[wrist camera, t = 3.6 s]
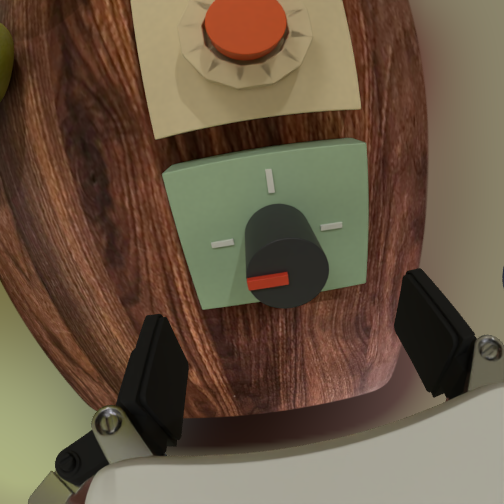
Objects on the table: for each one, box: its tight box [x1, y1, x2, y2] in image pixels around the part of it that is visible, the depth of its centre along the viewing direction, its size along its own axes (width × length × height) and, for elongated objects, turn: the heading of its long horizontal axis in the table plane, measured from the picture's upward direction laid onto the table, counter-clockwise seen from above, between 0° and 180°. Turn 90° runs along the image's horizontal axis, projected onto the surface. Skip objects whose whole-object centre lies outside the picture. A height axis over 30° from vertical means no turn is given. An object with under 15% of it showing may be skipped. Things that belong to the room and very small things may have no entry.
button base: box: [131, 0, 361, 140], centre depth 12 cm, size 12×10×4 cm
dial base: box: [162, 138, 368, 310], centre depth 19 cm, size 12×10×3 cm
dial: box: [245, 204, 329, 308], centre depth 15 cm, size 4×4×5 cm
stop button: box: [205, 0, 287, 61], centre depth 10 cm, size 4×4×2 cm
